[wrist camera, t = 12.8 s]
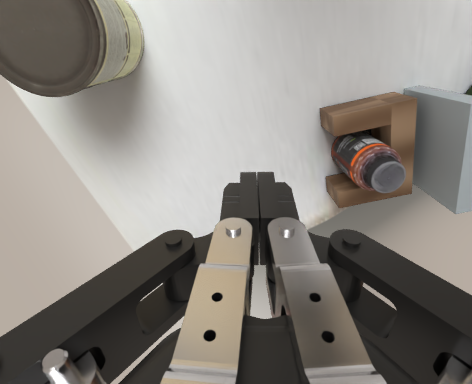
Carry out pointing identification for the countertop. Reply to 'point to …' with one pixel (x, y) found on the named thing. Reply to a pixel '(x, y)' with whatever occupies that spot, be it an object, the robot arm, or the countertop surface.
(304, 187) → the countertop surface
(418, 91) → the board
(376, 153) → the supplement bottle
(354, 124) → the walnut u-shaped holder
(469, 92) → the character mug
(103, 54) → the coffee can
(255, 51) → the countertop surface
